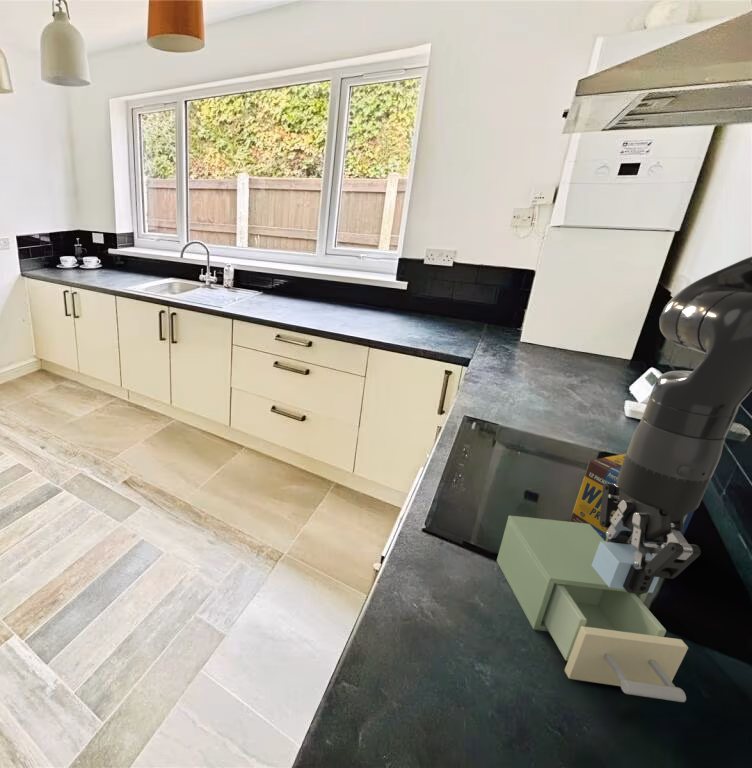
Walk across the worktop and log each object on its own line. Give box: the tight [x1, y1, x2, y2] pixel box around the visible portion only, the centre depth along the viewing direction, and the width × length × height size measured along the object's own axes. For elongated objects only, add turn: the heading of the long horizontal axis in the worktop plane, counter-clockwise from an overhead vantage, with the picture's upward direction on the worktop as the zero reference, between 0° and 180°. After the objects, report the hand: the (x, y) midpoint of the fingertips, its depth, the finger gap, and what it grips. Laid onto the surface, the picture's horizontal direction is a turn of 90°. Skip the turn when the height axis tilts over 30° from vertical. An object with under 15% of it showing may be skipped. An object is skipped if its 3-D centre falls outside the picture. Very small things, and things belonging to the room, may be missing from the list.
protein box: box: [569, 453, 696, 545], centre depth 85 cm, size 10×15×16 cm
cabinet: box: [496, 514, 649, 633], centre depth 72 cm, size 15×13×10 cm
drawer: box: [542, 583, 689, 703], centre depth 61 cm, size 18×11×8 cm, turn 171°
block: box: [592, 541, 661, 594], centre depth 58 cm, size 5×4×4 cm
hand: (621, 577), depth 59 cm, fingers closed on block, 4 cm apart
